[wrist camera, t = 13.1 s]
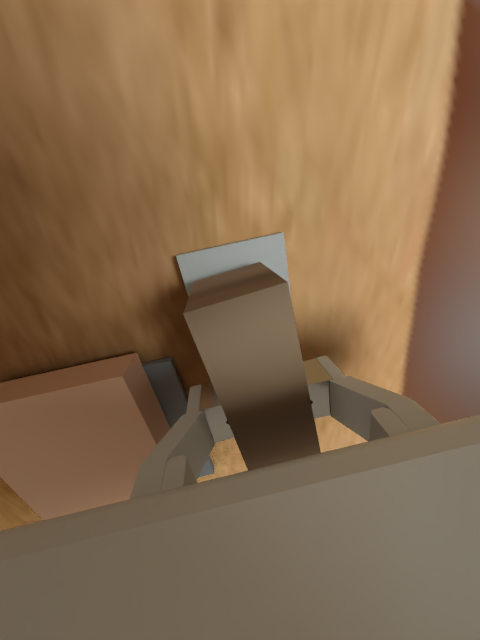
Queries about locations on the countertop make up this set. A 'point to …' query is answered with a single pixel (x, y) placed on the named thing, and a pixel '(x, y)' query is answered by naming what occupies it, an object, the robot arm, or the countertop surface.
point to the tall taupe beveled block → (254, 362)
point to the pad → (234, 258)
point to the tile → (78, 434)
